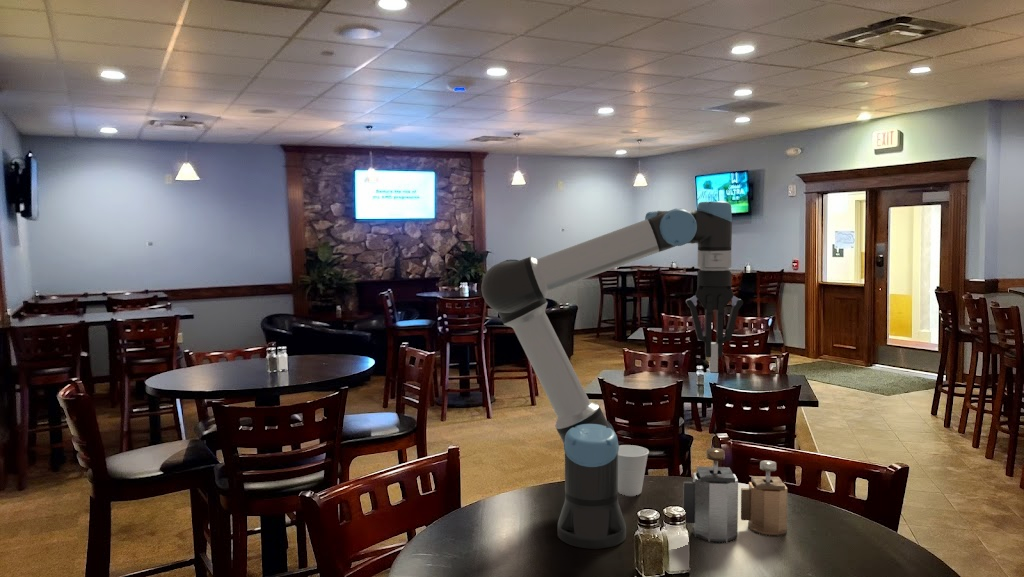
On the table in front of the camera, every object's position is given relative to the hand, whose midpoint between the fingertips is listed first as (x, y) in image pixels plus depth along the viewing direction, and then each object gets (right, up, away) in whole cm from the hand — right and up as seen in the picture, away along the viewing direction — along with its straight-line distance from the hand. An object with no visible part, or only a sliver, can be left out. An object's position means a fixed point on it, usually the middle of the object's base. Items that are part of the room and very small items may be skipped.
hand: (713, 370), depth 168 cm
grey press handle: (+10, -31, -6) cm, 33 cm away
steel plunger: (-2, -29, -9) cm, 31 cm away
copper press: (+10, -35, -6) cm, 37 cm away
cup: (-17, -34, +18) cm, 42 cm away
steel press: (-2, -35, -8) cm, 36 cm away
